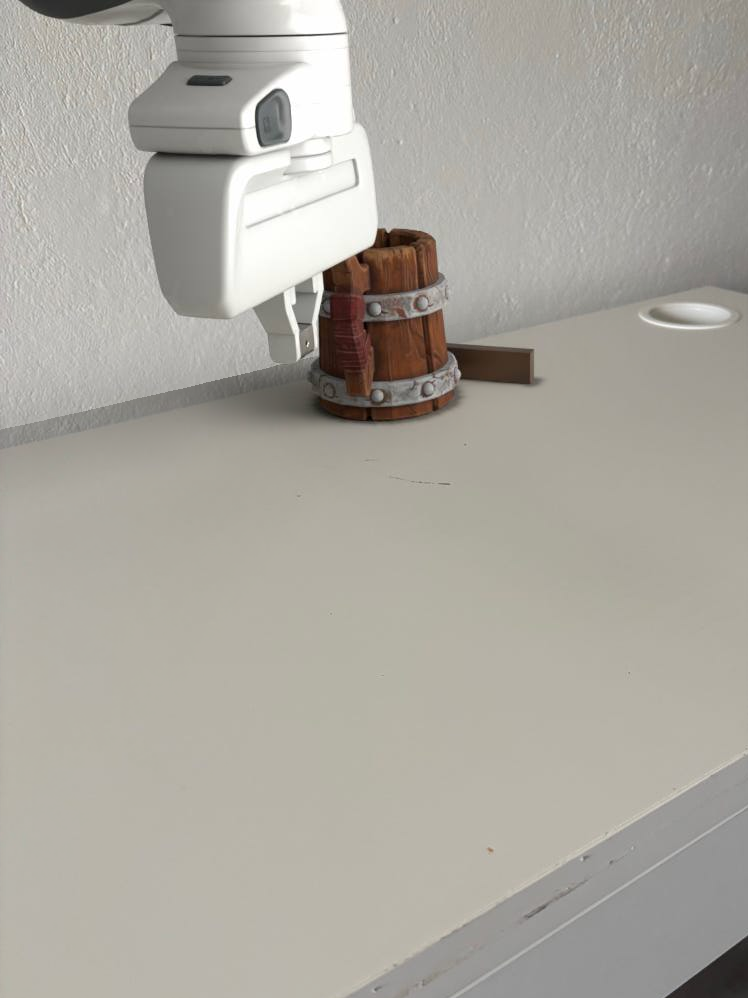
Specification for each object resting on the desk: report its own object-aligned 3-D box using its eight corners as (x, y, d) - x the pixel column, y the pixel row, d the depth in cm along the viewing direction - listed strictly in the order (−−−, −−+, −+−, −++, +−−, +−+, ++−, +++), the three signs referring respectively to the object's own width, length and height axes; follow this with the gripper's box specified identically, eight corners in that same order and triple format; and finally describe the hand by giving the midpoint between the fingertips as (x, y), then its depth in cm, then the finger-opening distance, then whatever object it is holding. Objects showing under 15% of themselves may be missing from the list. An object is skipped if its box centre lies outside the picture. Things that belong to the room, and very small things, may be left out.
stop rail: (369, 371, 86) (366, 341, 85) (374, 367, 87) (372, 337, 86) (530, 384, 83) (530, 353, 81) (534, 379, 84) (534, 348, 82)
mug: (477, 370, 85) (466, 181, 75) (443, 463, 75) (424, 258, 65) (341, 365, 87) (312, 180, 77) (289, 455, 76) (248, 255, 66)
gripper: (301, 82, 64) (321, 309, 71) (104, 114, 47) (156, 406, 55) (396, 84, 62) (406, 316, 69) (226, 118, 46) (263, 418, 53)
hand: (295, 356), depth 62 cm, fingers closed
